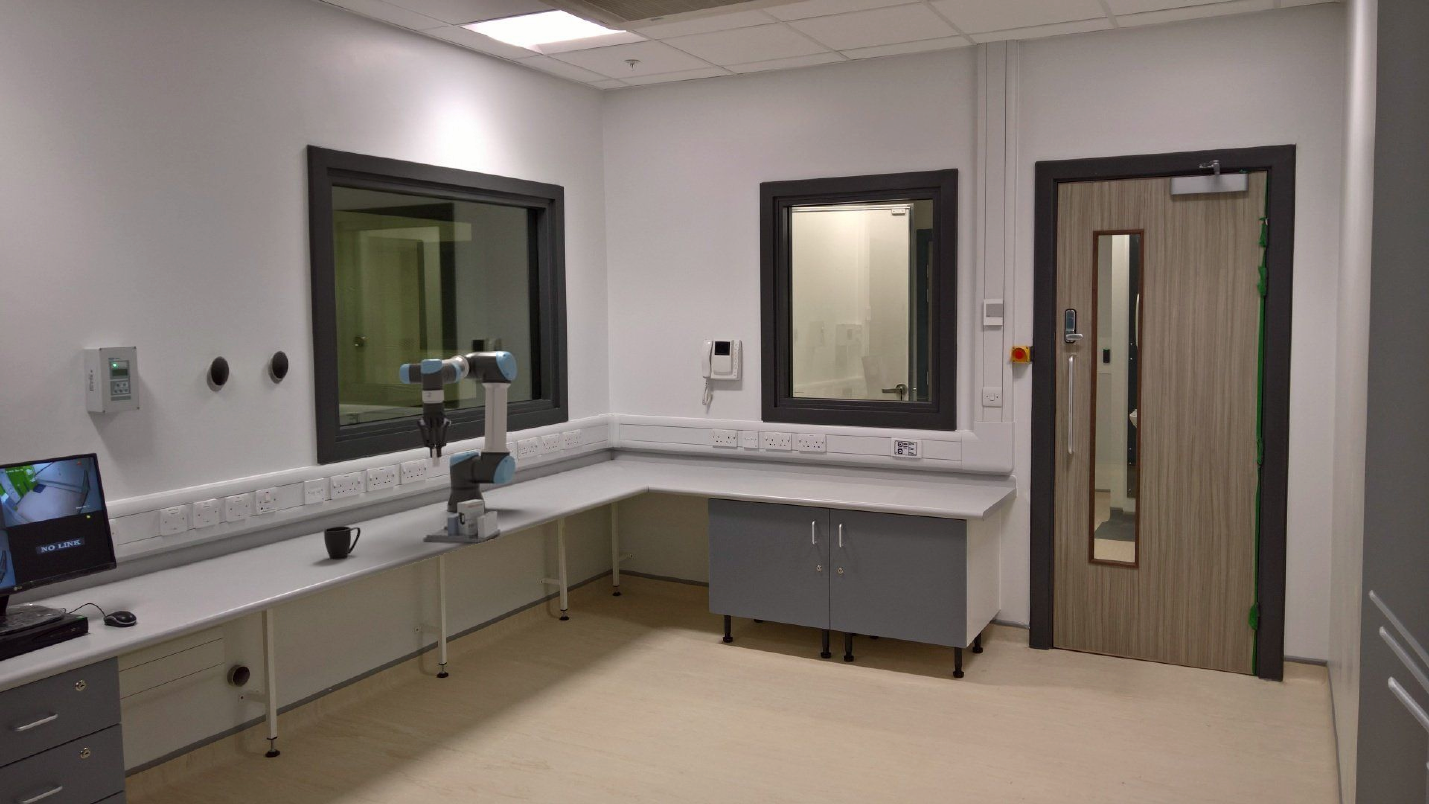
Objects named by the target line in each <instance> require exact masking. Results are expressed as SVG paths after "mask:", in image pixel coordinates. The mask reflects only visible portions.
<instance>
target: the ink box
mask: <svg viewBox="0 0 1429 804" xmlns="http://www.w3.org/2000/svg"><path fill="white" fill-rule="evenodd" d="M484 501H485V500H484ZM484 501H483V500H475V499H474V500H470V501H465V502H461V503H457V509H458V512H457V513H458V531H459V535H471V536H472V535H475V534H478V521H477V518H478V517H480V516H482V515H484V514H485V508H484Z"/></svg>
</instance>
